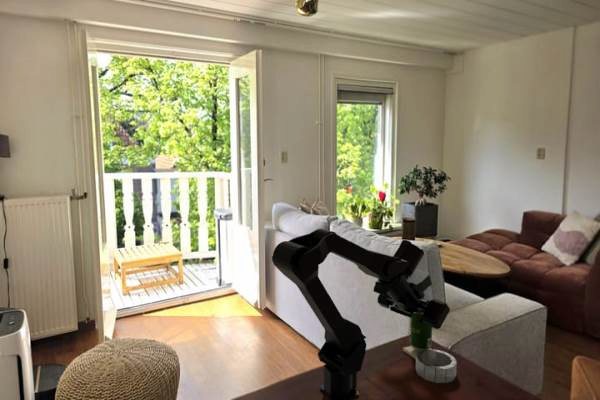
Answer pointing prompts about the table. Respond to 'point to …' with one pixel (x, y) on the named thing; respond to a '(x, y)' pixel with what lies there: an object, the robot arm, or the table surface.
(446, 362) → the ring holder
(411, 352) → the cork coaster
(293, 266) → the robot arm
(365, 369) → the table surface
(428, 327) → the beer can
